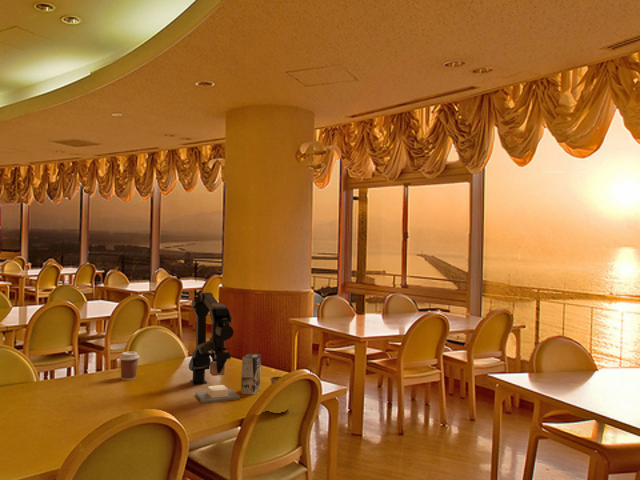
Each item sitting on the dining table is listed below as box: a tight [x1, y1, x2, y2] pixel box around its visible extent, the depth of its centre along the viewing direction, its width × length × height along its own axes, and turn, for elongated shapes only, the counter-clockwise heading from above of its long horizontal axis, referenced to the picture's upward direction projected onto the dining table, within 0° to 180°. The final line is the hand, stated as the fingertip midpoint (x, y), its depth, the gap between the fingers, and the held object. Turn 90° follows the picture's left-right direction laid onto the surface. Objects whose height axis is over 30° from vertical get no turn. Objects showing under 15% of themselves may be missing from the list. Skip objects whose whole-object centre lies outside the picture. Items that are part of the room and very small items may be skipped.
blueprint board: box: [195, 384, 241, 404], centre depth 222 cm, size 12×16×4 cm
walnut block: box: [209, 360, 226, 377], centre depth 222 cm, size 5×5×5 cm
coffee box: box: [240, 353, 262, 396], centre depth 232 cm, size 9×6×16 cm
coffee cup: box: [118, 351, 140, 381], centre depth 246 cm, size 9×9×12 cm
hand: (217, 371), depth 222 cm, fingers closed on walnut block, 5 cm apart
